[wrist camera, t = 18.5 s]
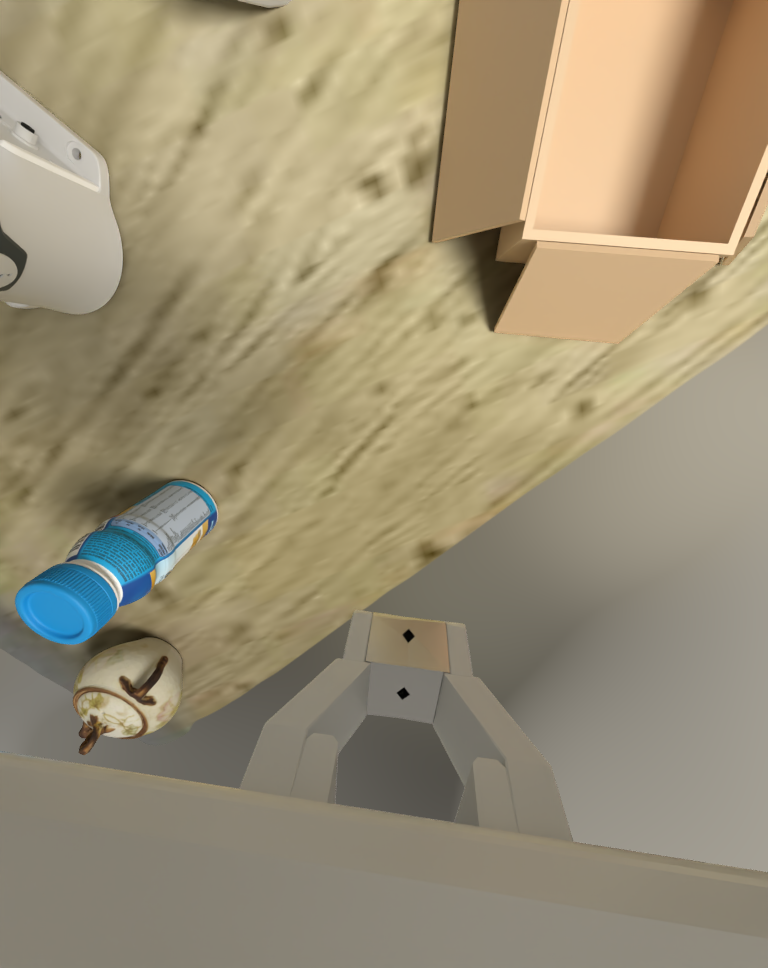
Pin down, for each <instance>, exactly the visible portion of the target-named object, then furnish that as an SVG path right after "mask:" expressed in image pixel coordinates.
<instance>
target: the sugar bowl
mask: <svg viewBox="0 0 768 968" xmlns="http://www.w3.org/2000/svg"><path fill="white" fill-rule="evenodd" d="M181 698H182V659H181V656H180V654H179V653H178V652H177V650H176V649H174V648H173V647H172V646H171V645H170V644H168V643H167V642H165V641H163V640H161V639H157V638H153V637H147V638H143V639H140V640H136V641H132V642H127V643H123V644H120V645H117V646H114V647H111V648H109V649H106V650H104V651H102V652H100V653H99V654H97V655H96V656H94V657H93V658H92V659H90V660H89V661H88V662H87V663H86V664H85V665H84V667H83V668H82V669H81V671H80V672H79V674H78V676H77V679H76V681H75V685H74V697H73V705H74V708H75V710H76V712H77V713H78V714H79V715H80V717H81V718H82V720H83V726H82V728H81V730H80V732H79V736H80V737H81V738H86V739H85V741H84V742H83V743H82V744H81V746H80V749H79V753H80V754H82V755H85V754H87V753H88V752H90V750H91V749H92V747H93V746H94V744H95V743H96V741H97V739H98V738H99V736H100V735H101V734H103V735H106V736H110V737H116V738H121V739H134V738H138V737H141V736H143V735H146V734H149V733H152V732H154V731H156V730H158V729H160V728H161V727H162V726H164V725H165V724H166V723H167V722H168V721H169V720H170V719H171V718H172V717H173V715H174V714H175V712H176V711H177V709H178V707H179V705H180V702H181Z"/></svg>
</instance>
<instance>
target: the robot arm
mask: <svg viewBox="0 0 768 968" xmlns="http://www.w3.org/2000/svg"><path fill="white" fill-rule="evenodd" d="M80 152H81V159H79V153H80ZM122 266H123V250H122V242H121V237H120V232H119V229H118V225H117V222H116V219H115V216H114V213H113V210H112V207H111V203H110V188H109V172H108V167H107V164H106V161H105V160H104V158H103V157H102V155H101V154H100V153H99V152H97V151H96V150H95V149H94V148H93V147H92V146H90V145H89V144H88V143H87V142H85V141H84V140H83V139H82V138H81V137H79V136H78V135H77V134H76V133H75V132H73V131H72V130H71V129H70V128H69V127H67V126H66V125H65V124H64V123H63V122H61V121H60V120H59V119H58V118H57V117H55V116H54V115H53V114H52V113H51V112H49V111H48V110H47V109H46V108H45V107H43V106H42V105H41V104H40V103H39V102H37V101H36V100H35V99H34V98H33V97H31V96H30V95H29V94H28V93H27V92H25V91H24V90H23V89H22V88H21V87H19V86H18V85H17V84H16V83H15V82H13V81H12V80H11V79H10V78H9V77H7V76H6V75H5V74H4V73H3V72H1V71H0V301H4V302H5V303H6V304H8V305H9V306H11V307H14V308H21V309H33V308H39V307H43V308H47V309H51V310H55V311H59V312H63V313H67V314H86V313H90V312H93V311H96V310H98V309H99V308H101V307H102V306H104V305H105V304H106V303H107V302H108V301H109V300H110V299H111V297H112V296H113V295H114V293H115V291H116V289H117V287H118V284H119V282H120V278H121V274H122ZM366 714H369V715H378V716H388V717H395V718H402V719H408V720H414V721H420V722H425V723H431V724H433V726H434V729H435V730H436V733H437V734H438V736H439V738H440V740H441V742H442V744H443V746H444V748H445V750H446V752H447V754H448V756H449V758H450V760H451V762H452V763H453V765H454V767H455V769H456V771H457V773H458V775H459V777H460V779H461V781H462V783H463V785H464V787H465V789H464V793H463V796H462V799H461V802H460V805H459V809H458V812H457V815H456V818H455V821H454V823H453V822H446V821H440V820H433V819H428V818H421V817H415V816H409V815H402V814H395V813H389V812H383V811H377V810H370V809H364V808H357V807H351V806H345V805H338V804H335V800H336V798H335V797H336V781H337V761H338V760H337V759H338V753H339V752H340V751H341V749H342V748H343V747H344V745H345V744H346V743H347V741H348V740H349V739H350V737H351V736H352V735H353V733H354V732H355V731H356V729H357V728H358V727H359V725H360V724H361V723H362V721H363V720H364V719H365V717H366ZM0 968H768V872H763V871H757V870H751V869H744V868H738V867H732V866H725V865H719V864H712V863H705V862H700V861H693V860H687V859H681V858H674V857H668V856H661V855H656V854H649V853H642V852H636V851H630V850H624V849H617V848H611V847H604V846H598V845H592V844H586V843H579V842H573V838H572V835H571V831H570V828H569V825H568V822H567V818H566V815H565V811H564V808H563V805H562V801H561V797H560V794H559V791H558V787H557V784H556V780H555V777H554V774H553V770H552V767H551V765H550V764H549V763H548V762H547V760H546V759H545V758H544V757H543V756H542V754H541V753H540V752H539V751H538V750H537V748H536V747H535V746H534V745H533V743H532V742H531V741H530V740H529V738H528V737H527V736H526V735H525V734H524V732H523V731H522V730H521V729H520V728H519V726H518V725H517V724H516V723H515V721H514V720H513V719H512V718H511V716H510V715H509V714H508V713H507V711H506V710H505V709H504V708H503V706H502V705H501V704H500V703H499V702H498V700H497V699H496V698H495V697H494V696H493V694H492V693H491V692H490V691H489V689H488V688H487V687H486V686H485V684H484V683H483V682H482V681H481V680H480V678H477V677H473V673H472V665H471V659H470V653H469V646H468V639H467V632H466V627H465V625H464V624H462V623H452V622H444V621H435V620H427V619H419V618H410V617H402V616H396V615H389V614H383V613H376V612H367V611H361V610H355V611H354V613H353V616H352V620H351V625H350V629H349V633H348V638H347V642H346V646H345V650H344V655H343V659H338V658H337V659H336V660H335V661H333V662H332V663H331V664H330V665H329V666H328V667H327V668H326V669H325V670H323V671H322V672H321V673H320V674H319V675H318V676H317V677H316V678H315V679H313V680H312V681H311V682H310V683H309V684H308V685H307V686H306V687H305V688H304V689H302V690H301V691H300V692H299V693H298V694H297V695H296V696H295V697H293V698H292V699H291V700H290V701H289V702H288V703H287V704H286V705H285V706H284V707H282V708H281V709H280V710H279V711H278V712H277V713H276V714H275V715H274V716H272V717H271V718H270V719H269V720H268V721H267V722H266V723H265V724H264V727H263V729H262V732H261V735H260V737H259V740H258V742H257V745H256V747H255V750H254V752H253V755H252V757H251V760H250V762H249V765H248V768H247V770H246V773H245V775H244V778H243V780H242V783H241V785H240V788H239V789H237V788H230V787H224V786H218V785H211V784H205V783H199V782H192V781H186V780H179V779H173V778H167V777H161V776H154V775H148V774H142V773H135V772H129V771H123V770H116V769H110V768H104V767H97V766H91V765H85V764H79V763H72V762H66V761H60V760H53V759H47V758H40V757H35V756H28V755H22V754H15V753H9V752H3V751H0Z"/></svg>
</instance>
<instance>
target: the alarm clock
mask: <svg viewBox="0 0 768 968" xmlns="http://www.w3.org/2000/svg"><path fill="white" fill-rule="evenodd" d="M238 1H241V2H246V3H250V4H254V5H258V6H263V7H267V8H272V7H282V6H285V5H287V4H288V3H289V2H290V1H291V0H238Z"/></svg>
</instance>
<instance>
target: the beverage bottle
mask: <svg viewBox="0 0 768 968" xmlns="http://www.w3.org/2000/svg"><path fill="white" fill-rule="evenodd" d="M217 520H218V509H217V505H216V503H215V501H214V499H213V498H212V496H211V495H210V494H209V493H208V492H207V491H206V490H205V489H204V488H202V487H201V486H199V485H197V484H195V483H193V482H189V481H184V480H178V481H172V482H169V483H167V484H166V485H164V486H163V487H161V488H160V489H158V490H157V491H155V492H154V493H152V494H151V495H149V496H147V497H146V498H144V499H143V500H141V501H139V502H138V503H136V504H134V505H133V506H131V507H130V508H128V509H126V510H125V511H123V512H122V513H120V514H118V515H117V516H114V517H111V518H109V519H108V520H106V521H104V522H103V523H102V524H100V525H99V526H98V527H97V528H96V529H95V531H94V532H91V533H89V534H86V535H85V536H83V537H82V538H81V539H79V540H78V541H77V542H76V544H75V545H74V546H73V547H72V549H71V550H70V552H69V554H68V556H67V558H66V560H65V562H64V563H60V564H58V565H55V566H53V567H51V568H49V569H48V570H46V571H44V572H43V573H41V574H40V575H38V576H37V577H35V578H34V579H32V580H31V581H29V582H28V583H26V584H25V585H24V586H23V587H22V588H21V589H20V590H19V591H18V593H17V595H16V599H15V605H16V609H17V611H18V614H19V615H20V617H21V618H22V620H23V621H24V622H25V623H26V624H27V626H29V627H30V628H31V629H32V630H33V631H35V632H36V633H37V634H39V635H41V636H42V637H44V638H46V639H48V640H51V641H54V642H57V643H61V644H78V643H82V642H84V641H86V640H87V639H89V638H91V637H92V636H93V635H94V634H95V633H96V632H97V631H99V630H100V629H101V628H102V627H103V626H104V625H105V624H106V623H107V622H108V621H109V620H110V619H111V618H112V617H113V616H114V614H115V613H116V611H117V609H118V607H120V606H124V605H127V604H130V603H132V602H135V601H137V600H139V599H140V598H142V597H144V596H145V595H147V594H148V593H149V592H150V591H151V590H152V588H153V587H154V585H155V584H157V583H159V582H160V581H162V580H163V579H164V578H166V577H167V576H168V575H169V574H170V572H171V571H172V570H173V568H174V566H175V565H176V563H177V562H178V561H179V560H180V559H181V558H182V557H183V556H184V555H185V554H186V553H187V552H188V551H189V550H190V549H191V548H192V547H193V546H194V545H195V544H196V543H198V542H199V541H200V540H201V539H202V538H203V537H204V536H205V535H207V534H208V533H209V532H210V531H211V530H212V529H213V528H214V527H215V525H216V523H217Z"/></svg>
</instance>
